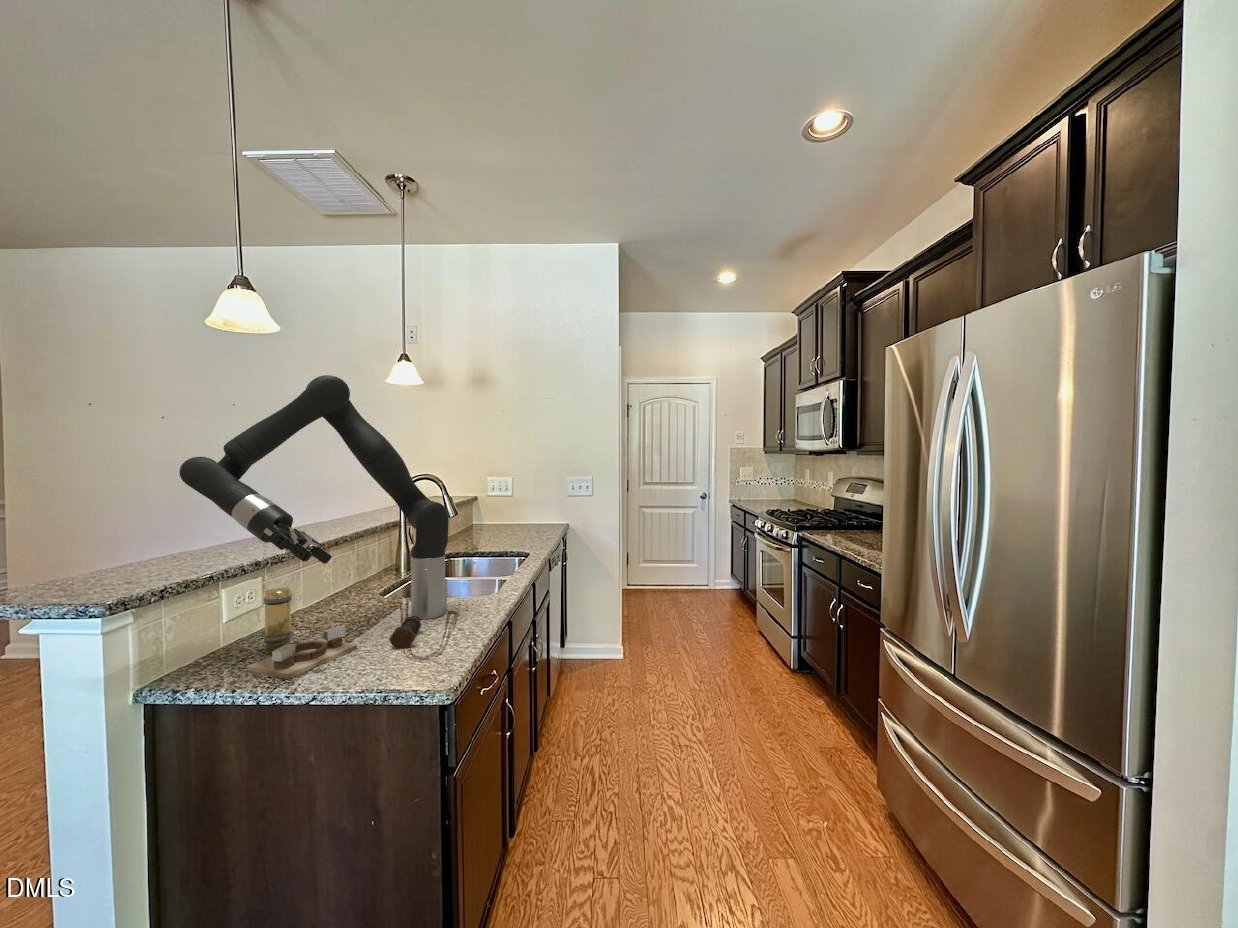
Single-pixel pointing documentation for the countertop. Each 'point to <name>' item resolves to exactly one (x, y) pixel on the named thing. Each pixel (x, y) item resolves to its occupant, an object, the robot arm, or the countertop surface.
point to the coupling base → (300, 665)
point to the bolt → (405, 633)
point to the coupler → (277, 618)
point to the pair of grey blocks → (289, 649)
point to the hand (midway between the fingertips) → (319, 559)
